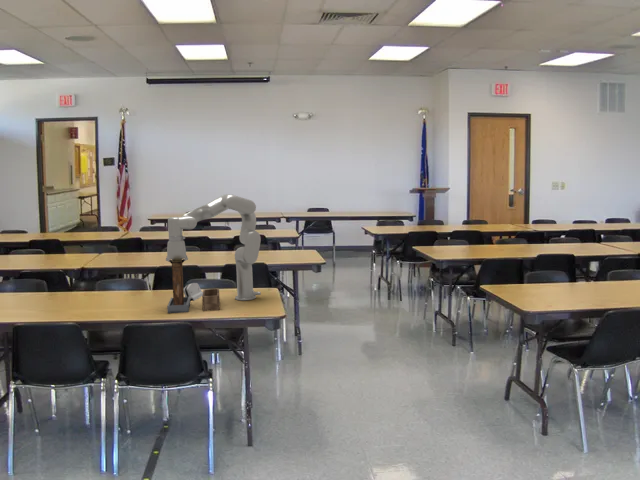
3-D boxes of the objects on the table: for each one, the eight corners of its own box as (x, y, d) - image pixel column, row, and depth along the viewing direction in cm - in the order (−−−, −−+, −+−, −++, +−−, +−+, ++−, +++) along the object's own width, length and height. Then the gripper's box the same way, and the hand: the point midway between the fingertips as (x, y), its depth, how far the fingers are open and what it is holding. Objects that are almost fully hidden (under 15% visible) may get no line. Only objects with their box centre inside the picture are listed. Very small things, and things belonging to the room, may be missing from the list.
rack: (219, 301, 326) (219, 288, 325) (219, 309, 306) (218, 295, 305) (204, 302, 325) (203, 289, 324) (203, 310, 304) (202, 296, 303)
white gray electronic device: (193, 300, 331) (187, 285, 330) (187, 303, 332) (181, 287, 331) (204, 294, 347) (199, 280, 347) (198, 297, 348) (192, 282, 348)
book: (183, 305, 304) (181, 261, 302) (173, 306, 303) (171, 262, 300) (183, 299, 320) (182, 257, 317) (174, 300, 319) (172, 258, 316)
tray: (190, 303, 324) (190, 296, 323) (188, 312, 302) (187, 305, 302) (171, 304, 322) (170, 297, 321) (167, 313, 300) (167, 306, 300)
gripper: (190, 237, 313) (192, 269, 315) (161, 238, 310) (163, 270, 312) (189, 239, 305) (191, 271, 307) (160, 240, 303) (162, 273, 305)
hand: (177, 271), depth 310 cm, fingers closed on book
